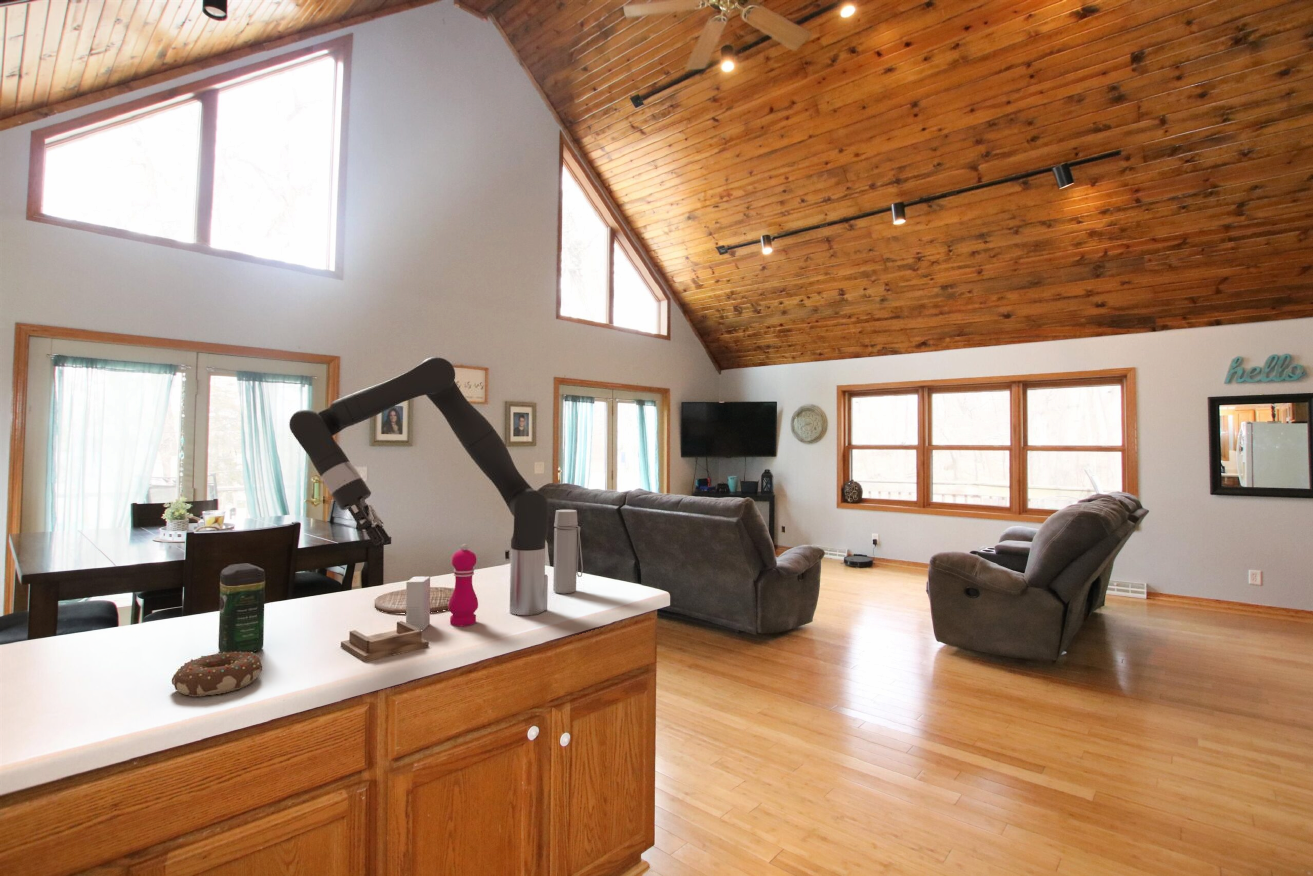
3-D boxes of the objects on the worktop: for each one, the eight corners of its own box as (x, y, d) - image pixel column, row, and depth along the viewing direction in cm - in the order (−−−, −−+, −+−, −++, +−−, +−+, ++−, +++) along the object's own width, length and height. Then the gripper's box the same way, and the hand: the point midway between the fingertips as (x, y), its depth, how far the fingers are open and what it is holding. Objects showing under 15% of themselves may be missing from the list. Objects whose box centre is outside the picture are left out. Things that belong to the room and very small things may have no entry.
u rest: (402, 634, 150) (402, 618, 150) (428, 646, 141) (428, 630, 141) (340, 647, 140) (341, 630, 140) (364, 661, 131) (364, 644, 131)
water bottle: (549, 594, 192) (550, 511, 192) (557, 588, 199) (558, 509, 199) (578, 595, 190) (579, 512, 190) (585, 589, 198) (586, 509, 198)
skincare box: (412, 624, 158) (413, 576, 159) (430, 623, 159) (430, 576, 159) (405, 631, 152) (405, 581, 152) (423, 631, 153) (424, 581, 153)
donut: (270, 686, 118) (270, 660, 118) (179, 707, 108) (179, 678, 108) (251, 666, 128) (252, 642, 128) (166, 684, 118) (167, 657, 118)
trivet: (379, 596, 188) (379, 589, 188) (467, 591, 195) (467, 585, 195) (368, 618, 164) (368, 611, 164) (468, 612, 171) (468, 605, 171)
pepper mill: (469, 628, 156) (470, 546, 156) (442, 625, 157) (443, 545, 157) (482, 620, 163) (484, 542, 163) (457, 618, 164) (458, 541, 165)
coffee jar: (267, 651, 136) (269, 565, 136) (224, 660, 131) (226, 570, 131) (256, 641, 143) (258, 559, 143) (214, 648, 138) (216, 563, 138)
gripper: (353, 474, 143) (392, 534, 143) (367, 479, 157) (403, 534, 157) (322, 492, 141) (361, 553, 141) (339, 496, 155) (375, 551, 155)
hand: (383, 543), depth 149 cm, fingers open, 8 cm apart
